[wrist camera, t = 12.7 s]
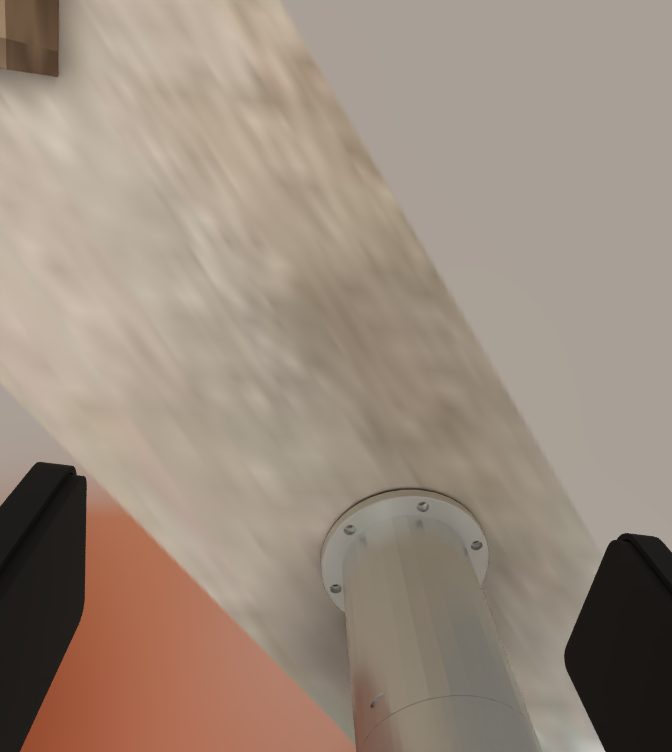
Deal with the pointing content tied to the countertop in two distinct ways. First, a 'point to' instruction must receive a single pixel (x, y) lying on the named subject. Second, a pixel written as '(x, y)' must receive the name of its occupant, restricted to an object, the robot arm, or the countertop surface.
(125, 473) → the countertop surface
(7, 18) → the walnut holder
